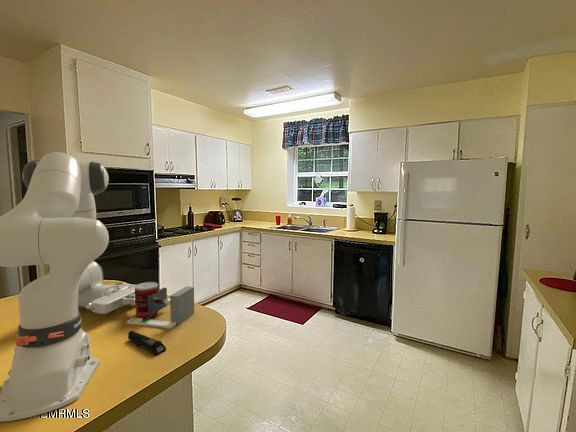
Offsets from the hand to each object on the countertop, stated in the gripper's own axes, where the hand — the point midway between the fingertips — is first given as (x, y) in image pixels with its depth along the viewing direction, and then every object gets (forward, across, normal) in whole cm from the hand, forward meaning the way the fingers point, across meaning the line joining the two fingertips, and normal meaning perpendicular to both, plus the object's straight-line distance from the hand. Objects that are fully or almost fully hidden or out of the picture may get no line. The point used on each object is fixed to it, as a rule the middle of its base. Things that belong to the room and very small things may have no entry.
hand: (137, 300), depth 108 cm
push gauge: (+11, -1, +5) cm, 12 cm away
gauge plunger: (+11, -2, +4) cm, 12 cm away
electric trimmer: (+19, -19, +5) cm, 27 cm away
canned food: (+4, 0, +5) cm, 7 cm away
